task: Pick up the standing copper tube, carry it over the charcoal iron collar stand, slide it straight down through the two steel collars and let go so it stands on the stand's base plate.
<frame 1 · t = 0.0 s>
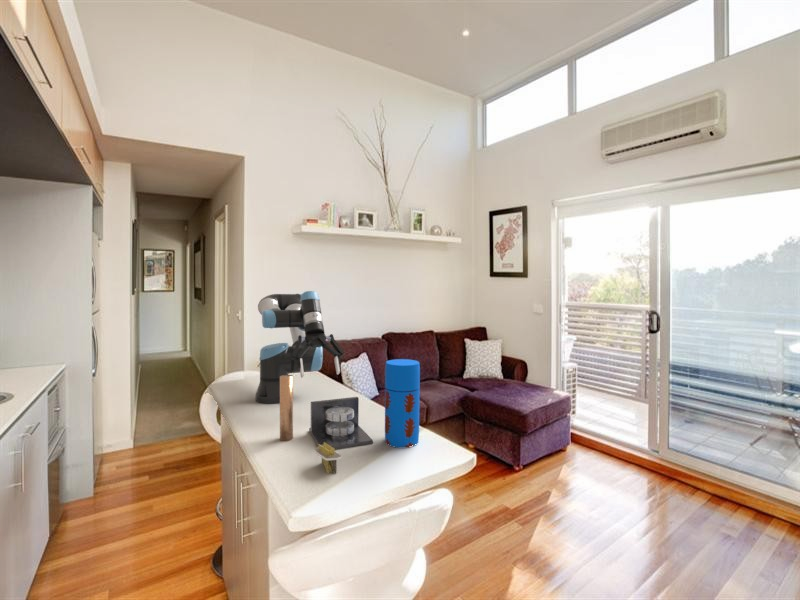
hand: (320, 374, 150), 15 cm above the table, tool tilted 35°, fingers open, 13 cm apart
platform: (326, 471, 106), on the table
collar stand: (339, 436, 129), on the table
thermos: (401, 441, 126), on the table
copper tube: (286, 438, 127), on the table
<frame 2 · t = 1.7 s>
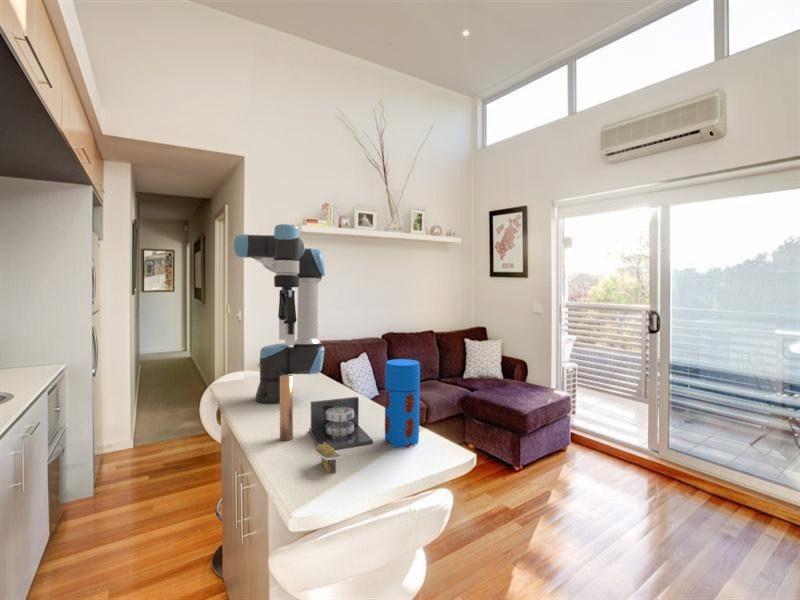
hand: (286, 342, 126), 31 cm above the table, tool pointing down, fingers open, 13 cm apart
nothing on the table moved.
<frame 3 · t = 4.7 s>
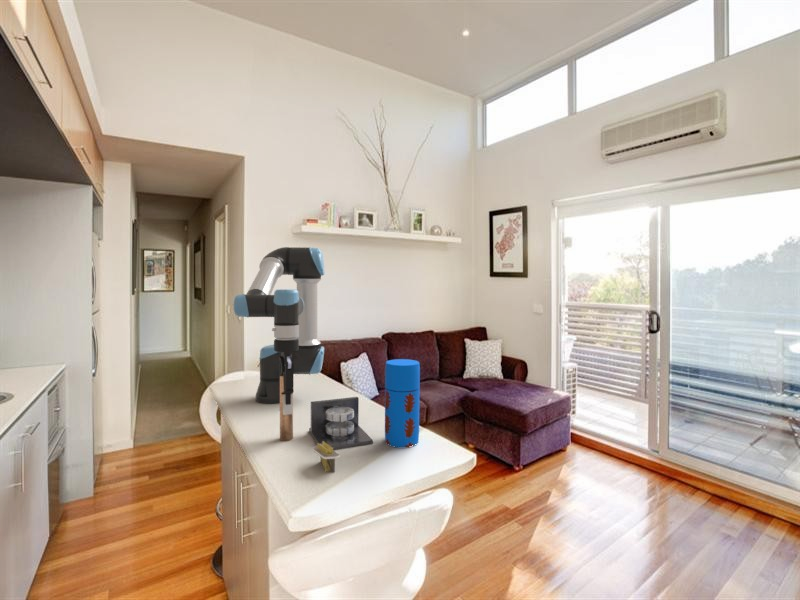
hand: (286, 411, 126), 9 cm above the table, tool pointing down, fingers closed on copper tube, 4 cm apart
copper tube: (286, 438, 127), on the table, touching gripper
everything else where it was.
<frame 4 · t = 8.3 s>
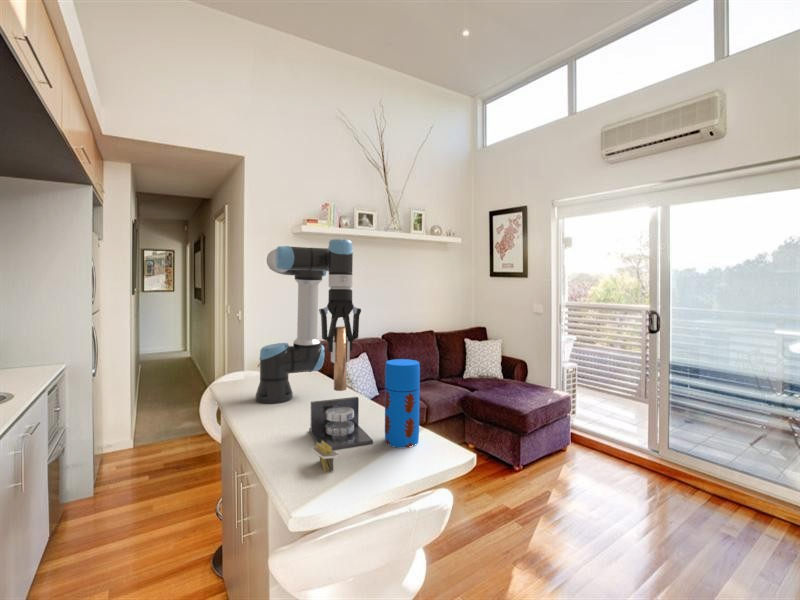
hand: (340, 361, 128), 24 cm above the table, tool pointing down, fingers closed on copper tube, 4 cm apart
copper tube: (340, 389, 128), point 16 cm above the table, touching gripper
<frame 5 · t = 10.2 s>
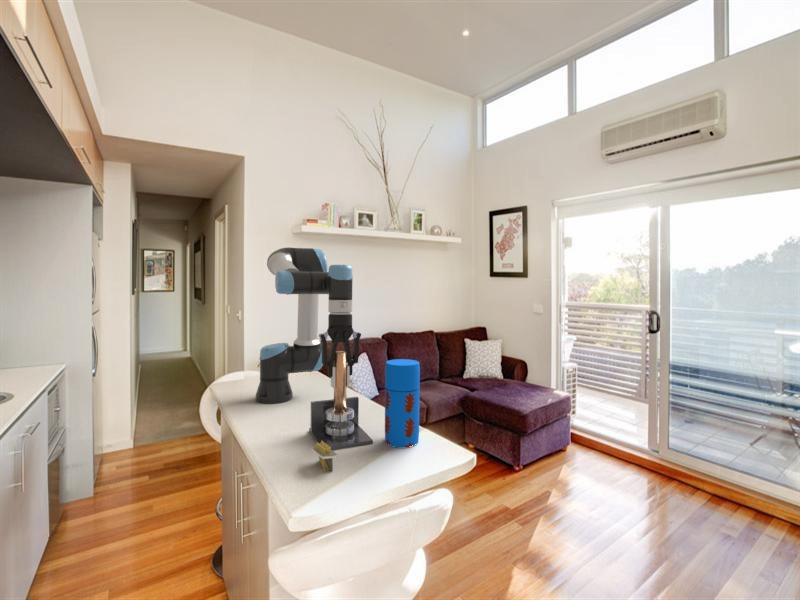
hand: (340, 386, 128), 17 cm above the table, tool pointing down, fingers closed on copper tube, 4 cm apart
copper tube: (340, 413, 128), point 8 cm above the table, touching gripper
when the fingers open (11 cm above the table, at t = 12.0 s): copper tube stays where it is, resting on collar stand.
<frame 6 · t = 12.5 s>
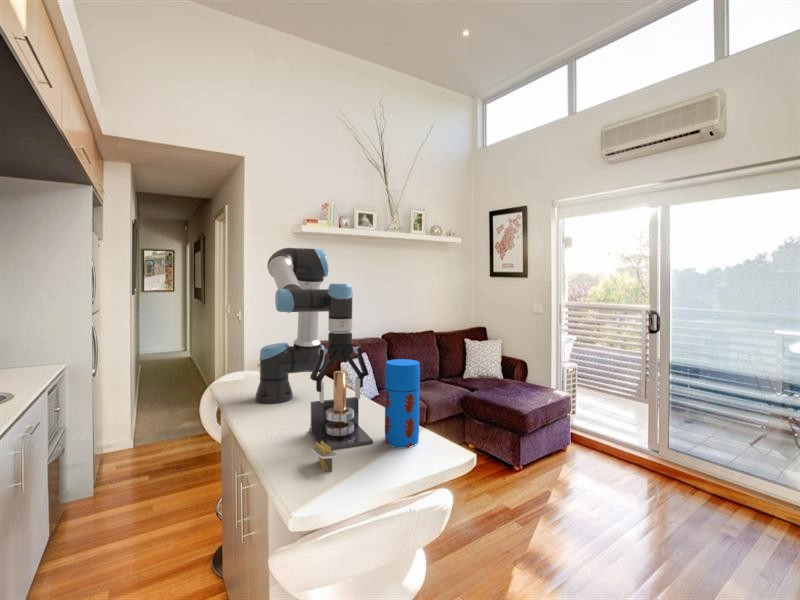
hand: (339, 399, 128), 12 cm above the table, tool pointing down, fingers open, 11 cm apart
copper tube: (339, 433, 129), point 1 cm above the table, touching collar stand
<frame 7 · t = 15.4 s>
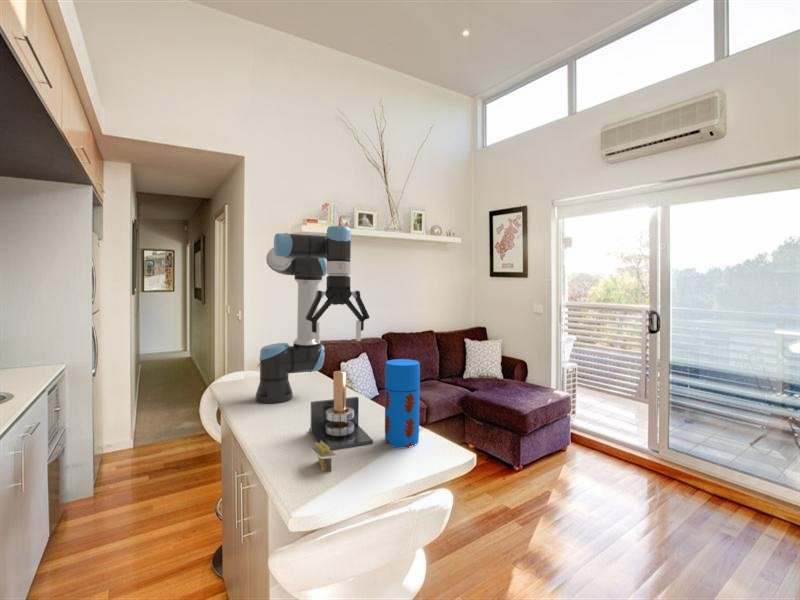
hand: (338, 341, 128), 31 cm above the table, tool pointing down, fingers open, 13 cm apart
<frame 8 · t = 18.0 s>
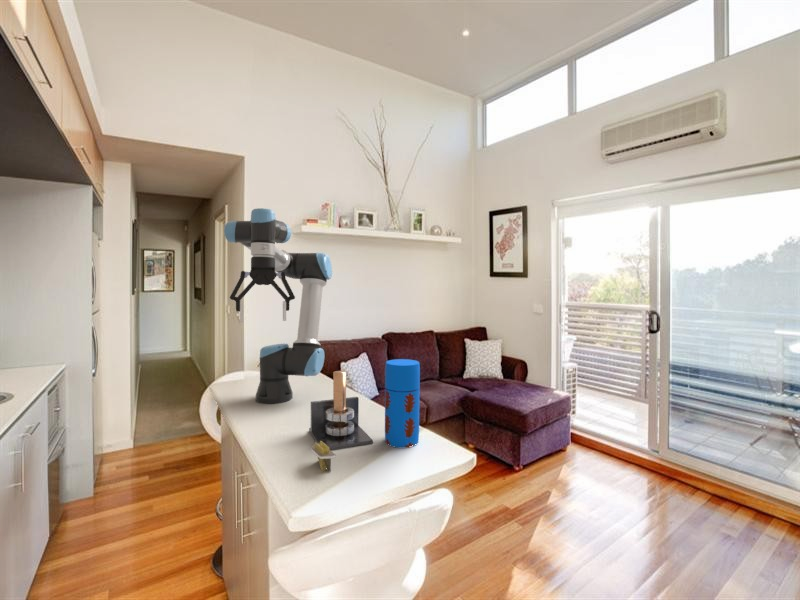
hand: (263, 321, 132), 37 cm above the table, tool pointing down, fingers open, 13 cm apart
at the end: copper tube 0.1 cm off-centre on the collar stand, point 1.0 cm above the collar stand's base; copper tube tilted 0°; the gripper is holding nothing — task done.
